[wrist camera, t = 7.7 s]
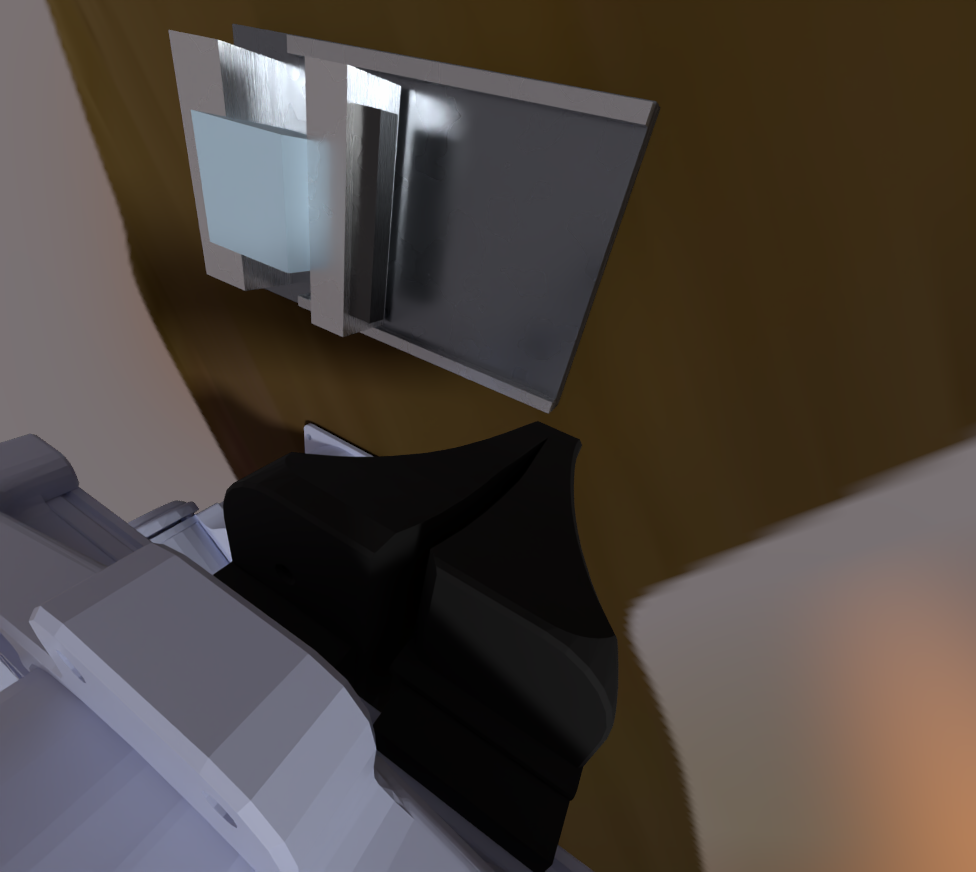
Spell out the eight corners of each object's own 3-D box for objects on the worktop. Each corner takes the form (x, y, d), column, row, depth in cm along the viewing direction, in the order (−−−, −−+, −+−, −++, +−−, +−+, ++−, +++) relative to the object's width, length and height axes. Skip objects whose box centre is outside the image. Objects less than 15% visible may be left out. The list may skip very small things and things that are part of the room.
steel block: (360, 264, 22) (288, 273, 18) (289, 238, 23) (210, 241, 20) (364, 150, 19) (281, 134, 15) (284, 128, 20) (190, 109, 17)
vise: (558, 404, 21) (528, 437, 18) (270, 283, 27) (209, 292, 24) (660, 107, 14) (641, 77, 11) (251, 31, 20) (163, -4, 17)
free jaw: (402, 331, 22) (362, 346, 20) (354, 312, 23) (311, 323, 20) (425, 91, 16) (374, 70, 14) (362, 77, 17) (304, 55, 15)
